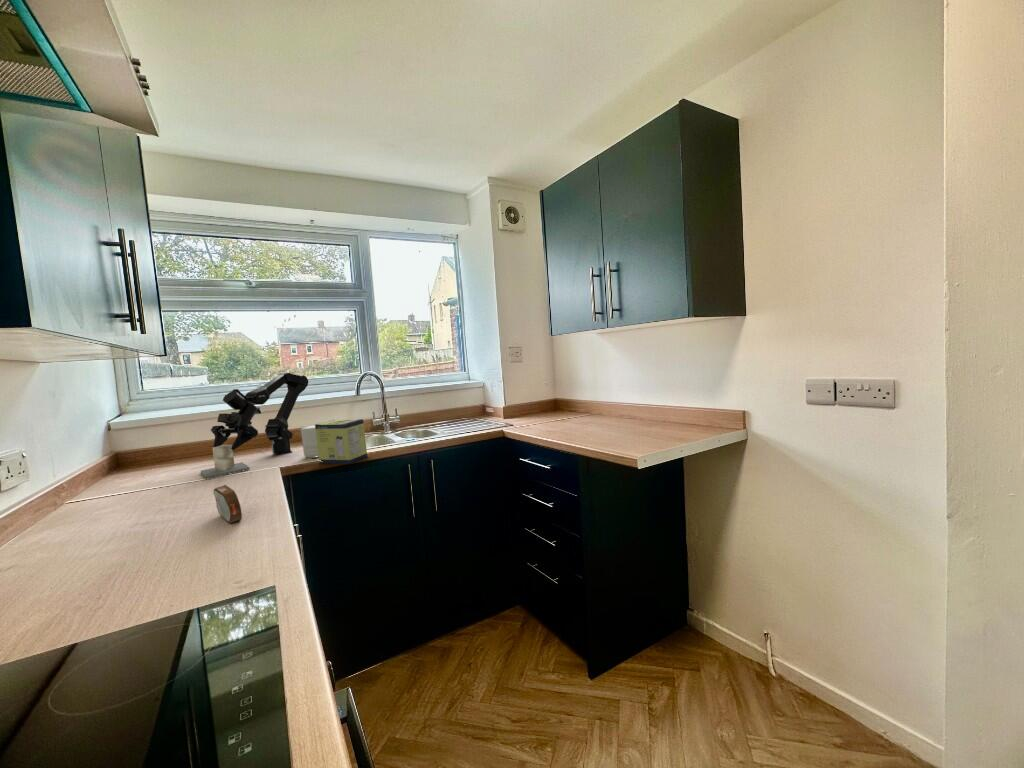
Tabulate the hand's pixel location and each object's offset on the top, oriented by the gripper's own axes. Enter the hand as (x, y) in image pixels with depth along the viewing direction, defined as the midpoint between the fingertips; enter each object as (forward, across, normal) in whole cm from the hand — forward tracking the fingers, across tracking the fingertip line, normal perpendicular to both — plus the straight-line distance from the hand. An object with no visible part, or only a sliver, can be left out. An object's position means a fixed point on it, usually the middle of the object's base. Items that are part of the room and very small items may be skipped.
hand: (223, 449), depth 166 cm
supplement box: (-10, +23, +23) cm, 34 cm away
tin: (+36, +50, -23) cm, 66 cm away
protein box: (-5, +42, +18) cm, 46 cm away
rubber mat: (+6, 0, +6) cm, 9 cm away
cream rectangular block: (+6, 0, +5) cm, 8 cm away
